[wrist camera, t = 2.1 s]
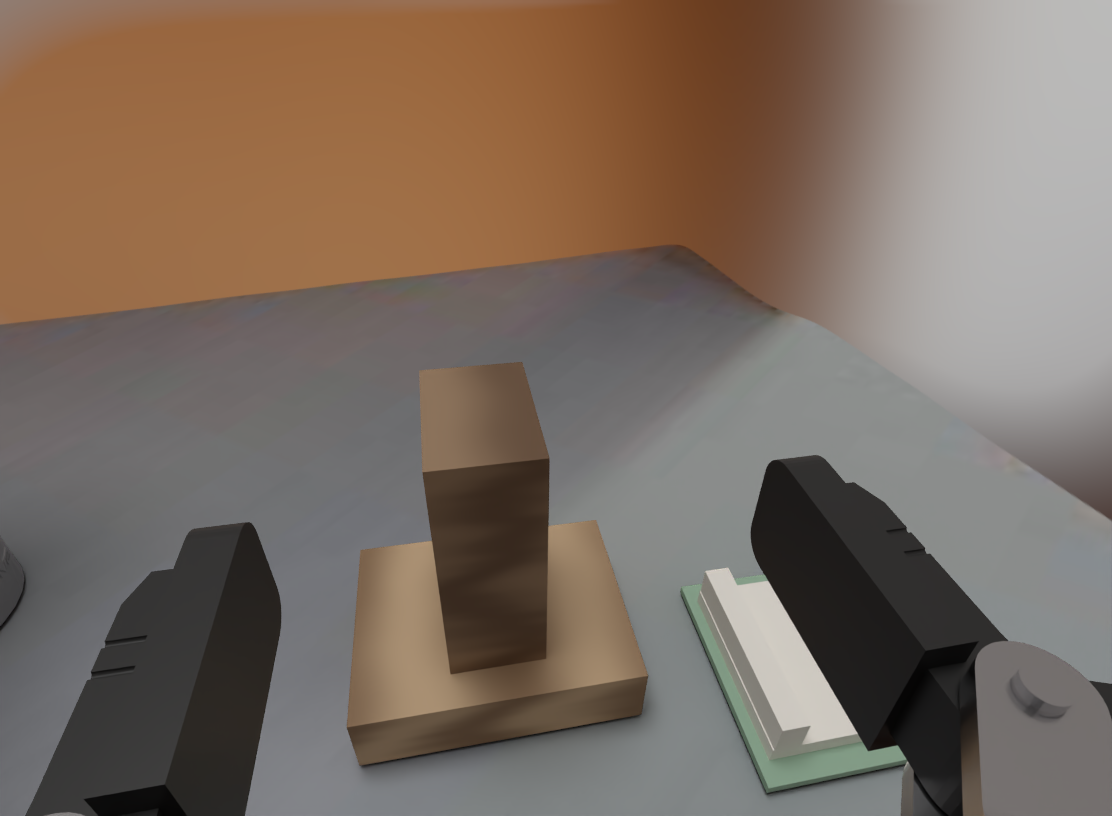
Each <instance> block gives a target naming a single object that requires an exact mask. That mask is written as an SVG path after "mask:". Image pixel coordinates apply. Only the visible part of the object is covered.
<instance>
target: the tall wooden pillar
mask: <svg viewBox="0 0 1112 816" xmlns="http://www.w3.org/2000/svg"><path fill="white" fill-rule="evenodd" d="M419 373H420V406H421V439H422V472H423V479H424V487H425V494H426V501H427V508H428V516H429V523H430V530H431V537H432V545H433V552H434V559H435V566H436V574H437V581H438V588H439V595H440V602H441V610H442V617H443V624H444V631H445V639H446V646H447V653H448V660H449V668H450V674H457V673H463V672H469V671H475V670H481V669H487V668H493V667H500V666H506V665H512V664H518V663H524V662H530V661H537V660H543V659H546V645H547V583H548V520H549V455H548V451H547V448H546V444H545V441H544V437H543V434H542V430H541V427H540V423H539V420H538V416H537V413H536V409H535V406H534V402H533V398H532V395H531V391H530V388H529V384H528V381H527V377H526V374H525V370H524V367H523V363H522V362H516V363H504V364H492V365H480V366H468V367H456V368H444V369H432V370H420V371H419Z"/></svg>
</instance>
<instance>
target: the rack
mask: <svg viewBox="0 0 1112 816" xmlns="http://www.w3.org/2000/svg"><path fill="white" fill-rule="evenodd" d="M697 602H698V604H699V606H700V608H701V610H702V613H703V615H704V617H705V619H706V622H707V624H708V626H709V628H710V630H711V633H712V635H713V637H714V639H715V642H716V644H717V646H718V648H719V650H720V653H721V655H722V657H723V659H724V662H725V664H726V666H727V668H728V670H729V673H730V675H731V677H732V679H733V682H734V684H735V686H736V688H737V690H738V693H739V695H740V697H741V699H742V702H743V704H744V706H745V708H746V710H747V713H748V715H749V717H750V719H751V722H752V724H753V726H754V728H755V730H756V733H757V735H758V737H759V739H760V742H761V744H762V746H763V748H764V750H765V753H766V755H767V757H768V759H769V760H773V759H778V758H783V757H788V756H793V755H798V754H803V753H808V752H813V751H818V750H823V749H828V748H833V747H838V746H843V745H848V744H853V743H858V742H862V740H861V739H860V737H859V735H858V733H857V732H856V730H855V728H854V727H853V725H852V723H851V721H850V720H849V718H848V716H847V715H846V713H845V711H844V710H843V708H842V706H841V704H840V703H839V701H838V699H837V698H836V696H835V694H834V692H833V691H832V689H831V687H830V686H829V684H828V682H827V681H826V679H825V677H824V675H823V674H822V672H821V670H820V669H819V667H818V665H817V663H816V662H815V660H814V658H813V657H812V655H811V653H810V651H809V650H808V648H807V646H806V645H805V643H804V641H803V640H802V638H801V636H800V634H799V633H798V631H797V629H796V628H795V626H794V624H793V622H792V621H791V619H790V617H789V616H788V614H787V612H786V611H785V609H784V607H783V605H782V604H781V602H780V600H779V599H778V597H777V595H776V593H775V592H774V590H773V588H772V587H771V585H770V583H769V582H768V581H763V582H756V583H750V584H743V585H737V584H736V582H735V580H734V578H733V576H732V574H731V572H730V570H729V568H723V569H716V570H710V571H705V574H704V579H703V583H702V587H701V591H700V592H699V596H698V600H697Z"/></svg>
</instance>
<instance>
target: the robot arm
mask: <svg viewBox="0 0 1112 816" xmlns="http://www.w3.org/2000/svg"><path fill="white" fill-rule="evenodd" d="M906 528H907V527H906V526H905V525H904V524H903V523H902V522H901V520H900V519H899V518H898V517H897V516H896V515H895V514H894V513H893V511H892V510H891V509H890V508H889V507H888V506H887V505H886V504H885V502H883V501H881V500H880V499H878V498H877V497H875V496H874V495H872V494H871V493H869V492H868V491H866V490H865V489H863V488H862V487H860V486H859V485H857V484H856V483H854V482H852V483H845V482H844V481H843V480H842V478H841V477H840V476H839V475H838V474H837V473H836V471H835V470H834V469H833V468H832V467H831V465H830V464H829V463H828V462H827V461H826V460H825V459H824V458H822V457H821V456H818V455H813V456H805V457H796V458H788V459H780V460H773V461H772V462H770V463H769V464H768V466H767V469H766V472H765V475H764V479H763V483H762V487H761V491H760V495H759V498H758V502H757V506H756V510H755V514H754V518H753V521H752V526H751V543H752V548H753V552H754V555H755V558H756V560H757V562H758V564H759V566H760V568H761V570H762V571H763V573H764V575H765V576H766V578H767V580H768V582H769V583H770V585H771V587H772V588H773V590H774V592H775V593H776V595H777V597H778V599H779V600H780V602H781V604H782V605H783V607H784V609H785V611H786V612H787V614H788V616H789V617H790V619H791V621H792V622H793V624H794V626H795V628H796V629H797V631H798V633H799V634H800V636H801V638H802V640H803V641H804V643H805V645H806V646H807V648H808V650H809V651H810V653H811V655H812V657H813V658H814V660H815V662H816V663H817V665H818V667H819V669H820V670H821V672H822V674H823V675H824V677H825V679H826V681H827V682H828V684H829V686H830V687H831V689H832V691H833V692H834V694H835V696H836V698H837V699H838V701H839V703H840V704H841V706H842V708H843V710H844V711H845V713H846V715H847V716H848V718H849V720H850V721H851V723H852V725H853V727H854V728H855V730H856V732H857V733H858V735H859V737H860V739H861V740H862V742H863V744H864V745H865V747H866V749H867V750H868V751H873V750H878V749H883V748H887V747H892V746H897V745H898V747H899V748H900V750H901V751H902V753H903V755H904V756H905V758H906V759H907V761H908V762H907V763H906V765H905V768H904V770H903V777H902V798H901V816H1112V684H1108V683H1101V682H1094V681H1088V680H1087V679H1086V678H1085V677H1084V676H1083V675H1082V674H1081V673H1080V672H1079V671H1077V670H1076V669H1075V668H1073V667H1072V666H1071V665H1069V664H1068V663H1067V662H1065V661H1063V660H1062V659H1060V658H1059V657H1057V656H1055V655H1053V654H1051V653H1049V652H1047V651H1045V650H1043V649H1040V648H1038V647H1035V646H1032V645H1028V644H1025V643H1020V642H1014V641H1008V640H1007V639H1006V638H1005V637H1004V636H1003V635H1002V634H1001V633H1000V632H999V631H998V630H997V628H996V627H995V626H994V625H993V624H992V623H991V622H990V621H989V619H988V618H987V617H986V616H985V615H984V614H983V613H982V612H981V610H980V609H979V608H978V607H977V606H976V605H975V604H974V603H973V601H972V600H971V599H970V598H969V597H968V596H967V595H966V594H965V592H964V591H963V590H962V589H961V588H960V587H959V586H958V585H957V583H956V582H955V581H954V580H953V579H952V578H951V577H950V576H949V574H948V573H947V572H946V571H945V570H944V569H943V568H942V567H941V565H940V564H939V563H938V562H937V561H936V560H935V559H934V558H933V556H932V555H931V554H926V552H925V547H924V546H923V545H922V544H921V543H920V542H919V541H918V540H917V538H916V537H915V536H914V535H913V534H912V533H908V532H907V529H906ZM23 584H24V574H23V570H22V567H21V565H20V564H19V562H18V561H17V560H16V558H15V557H14V555H13V554H12V552H11V551H10V550H9V548H8V547H7V545H6V544H5V542H4V541H3V540H2V538H1V537H0V626H1V625H2V624H3V623H4V621H5V620H6V619H7V617H8V616H9V614H10V613H11V612H12V610H13V609H14V608H15V606H16V604H17V602H18V600H19V598H20V595H21V593H22V590H23ZM280 629H281V603H280V596H279V592H278V589H277V586H276V583H275V580H274V578H273V575H272V572H271V570H270V567H269V564H268V561H267V559H266V556H265V553H264V551H263V548H262V545H261V542H260V540H259V537H258V534H257V532H256V529H255V528H254V526H253V525H252V524H251V523H249V522H246V523H238V524H230V525H221V526H213V527H205V528H197V529H193V530H191V531H190V532H189V533H188V535H187V536H186V538H185V541H184V543H183V546H182V548H181V551H180V553H179V556H178V558H177V561H176V564H175V566H174V569H169V570H162V571H154V572H151V573H150V574H149V575H148V576H147V577H146V579H145V580H144V581H143V582H142V583H141V584H140V585H139V586H138V587H137V588H136V589H135V590H134V592H133V593H132V594H131V595H130V596H129V597H128V598H127V599H126V600H125V601H124V602H123V604H122V605H121V607H120V609H119V611H118V613H117V615H116V618H115V620H114V622H113V624H112V627H111V629H110V631H109V633H108V635H107V638H106V640H105V644H106V645H105V648H103V649H101V651H100V653H99V655H98V658H97V660H96V662H95V664H94V666H93V669H92V671H91V674H92V677H91V680H87V682H86V684H85V686H84V689H83V691H82V693H81V695H80V697H79V700H78V702H77V704H76V706H75V709H74V711H73V713H72V715H71V717H70V720H69V722H68V724H67V726H66V728H65V731H64V733H63V735H62V737H61V740H60V742H59V744H58V746H57V748H56V751H55V753H54V755H53V757H52V760H51V762H50V764H49V766H48V768H47V771H46V773H45V775H44V777H43V779H42V782H41V784H40V786H39V788H38V791H37V793H36V795H35V797H34V799H33V802H32V804H31V805H30V807H29V809H28V811H27V813H26V815H25V816H245V811H246V806H247V801H248V796H249V791H250V786H251V780H252V775H253V770H254V765H255V760H256V755H257V749H258V744H259V739H260V734H261V729H262V724H263V718H264V713H265V708H266V703H267V698H268V693H269V687H270V682H271V677H272V672H273V667H274V662H275V656H276V651H277V646H278V641H279V636H280Z"/></svg>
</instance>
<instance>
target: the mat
mask: <svg viewBox="0 0 1112 816" xmlns="http://www.w3.org/2000/svg"><path fill="white" fill-rule="evenodd" d="M734 580H735V582H736V584H737V585H743V584H750V583H756V582H763V581H768V580H767V578H766V576H765V575H758V576H751V577H745V578H738V579H734ZM701 587H702V584H697V585H691V586H684V587H681V591H680V592H681V595H682V597H683V599H684V602H685V604H686V606H687V609H688V611H689V613H690V616H691V618H692V620H693V623H694V625H695V627H696V630H697V632H698V634H699V637H700V639H701V641H702V644H703V646H704V648H705V651H706V653H707V655H708V658H709V660H710V662H711V665H712V667H713V669H714V672H715V674H716V676H717V679H718V681H719V683H720V686H721V688H722V690H723V693H724V695H725V697H726V700H727V702H728V704H729V706H730V709H731V711H732V713H733V716H734V718H735V720H736V723H737V725H738V727H739V730H740V732H741V734H742V737H743V739H744V741H745V744H746V746H747V748H748V751H749V753H750V755H751V758H752V760H753V762H754V765H755V767H756V769H757V772H758V774H759V776H760V779H761V781H762V783H763V786H764V788H765V790H766V793H769V792H774V791H779V790H783V789H788V788H793V787H798V786H802V785H807V784H812V783H817V782H821V781H826V780H831V779H836V778H840V777H845V776H850V775H855V774H859V773H864V772H869V771H874V770H878V769H883V768H888V767H893V766H897V765H902V764H906V763H907V762H908V761H907V759H906V758H905V756H904V755H903V753H902V751H901V750H900V748H899V747H898V745H897V746H892V747H887V748H883V749H878V750H873V751H868V750H867V749H866V747H865V745H864V744H863V742H858V743H853V744H848V745H843V746H838V747H833V748H828V749H823V750H818V751H813V752H808V753H803V754H798V755H793V756H788V757H783V758H778V759H773V760H769V759H768V757H767V755H766V753H765V750H764V748H763V746H762V744H761V742H760V739H759V737H758V735H757V733H756V730H755V728H754V726H753V724H752V722H751V719H750V717H749V715H748V713H747V710H746V708H745V706H744V704H743V702H742V699H741V697H740V695H739V693H738V690H737V688H736V686H735V684H734V682H733V679H732V677H731V675H730V673H729V670H728V668H727V666H726V664H725V662H724V659H723V657H722V655H721V653H720V650H719V648H718V646H717V644H716V642H715V639H714V637H713V635H712V633H711V630H710V628H709V626H708V624H707V622H706V619H705V617H704V615H703V613H702V610H701V608H700V606H699V604H698V602H697V600H698V596H699V592H700V591H701Z"/></svg>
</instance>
